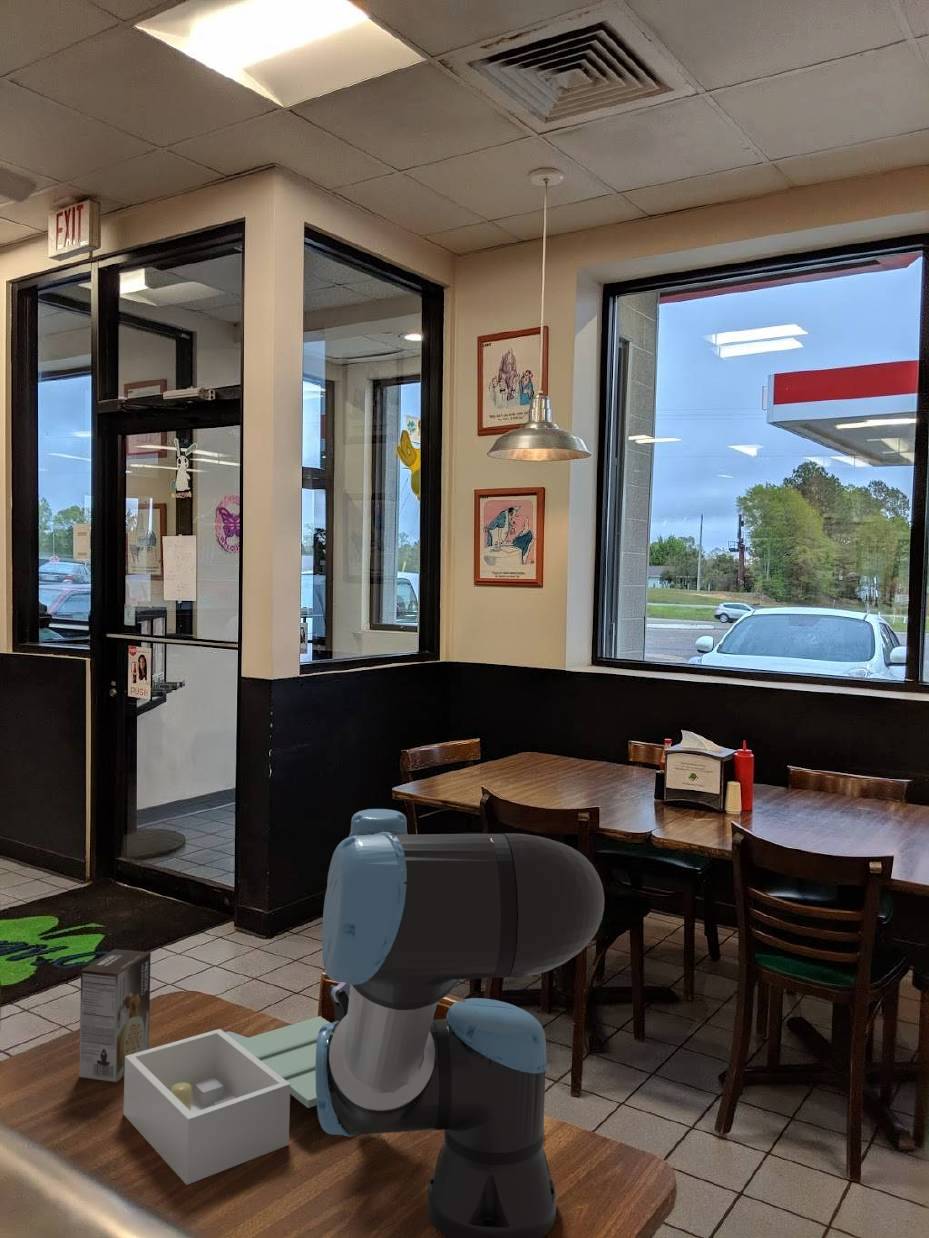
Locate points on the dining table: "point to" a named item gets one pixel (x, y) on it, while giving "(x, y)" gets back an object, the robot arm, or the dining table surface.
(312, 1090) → the lid
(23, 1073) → the dining table surface
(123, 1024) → the coffee box
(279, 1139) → the tub
